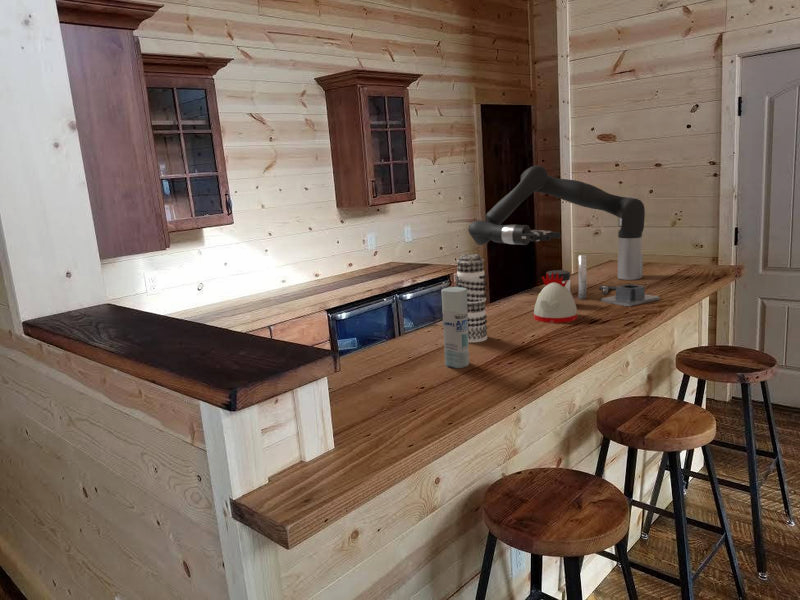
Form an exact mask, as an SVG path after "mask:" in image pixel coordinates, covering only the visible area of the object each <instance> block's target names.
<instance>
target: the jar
mask: <svg viewBox="0 0 800 600" xmlns="http://www.w3.org/2000/svg"><path fill="white" fill-rule="evenodd" d="M546 273H548V275H549V278H550V279H551V275H552V273H554V279H555V278H556V274H557V273H558V276H559V280H560V278H561V277H562V276H563V279H562V283H563V284H564V283H565V281H566V280H567V283H566V285H565V287H566V288H567V289H568V290H569V291H570V292H571V272H570V271H568V270H562V269H558V270H557V269H556V270H555V269H554V270H548V271H546V272H545V274H546Z"/></svg>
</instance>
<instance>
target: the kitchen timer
mask: <svg viewBox="0 0 800 600" xmlns="http://www.w3.org/2000/svg"><path fill="white" fill-rule="evenodd" d="M541 279H542V281H543V283H544V285H545V286H544V287H543V288H542V289H541V290H540V292H539V293H538V294H537V297H536V298H537V299H536V301H535V305H534V310H533V319H534V320H535V321H537V322H541V323H547V322H548V323H551V324H560V323H562V324H563V323H569V322H574V321H576V320H578V310H577V305H576V301H575V300H574V296H573V294H572V293H571V290H570V291H569V290H568V289H567V288H566V287H565V285H566V283H567V280H566V281H565V283H564V284H563V283H562V279H563V276H562V277H561V278H560V280H559V276H558V273H557V274H556V278H555V279H554V273H552V275H551V279H550V278H549V275H548V273H546V272H545V277H544V276H542V277H541Z"/></svg>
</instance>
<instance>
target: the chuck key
mask: <svg viewBox="0 0 800 600" xmlns="http://www.w3.org/2000/svg"><path fill="white" fill-rule="evenodd" d="M616 287H617V285H599V290H602V291H601V292H602V294H603V295H607V294H608V293H609V291H610V290H613V291H616Z"/></svg>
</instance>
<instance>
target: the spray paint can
mask: <svg viewBox="0 0 800 600" xmlns="http://www.w3.org/2000/svg"><path fill="white" fill-rule="evenodd" d="M440 293H441V305H442V307H441V308H442V311H441V312H442V326H443V328H442V329H443V345H444V346H443V348H444V349H443V350H444V365H445V366H446V367H447V368H452V369H461V368H465V367H468V366H469V364H470V353H469V352H470V351H469V348H470V346H469V342H468V310H467V289H466V288H464V287H458V286H450V287H444V288H442V289H441V292H440Z"/></svg>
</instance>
